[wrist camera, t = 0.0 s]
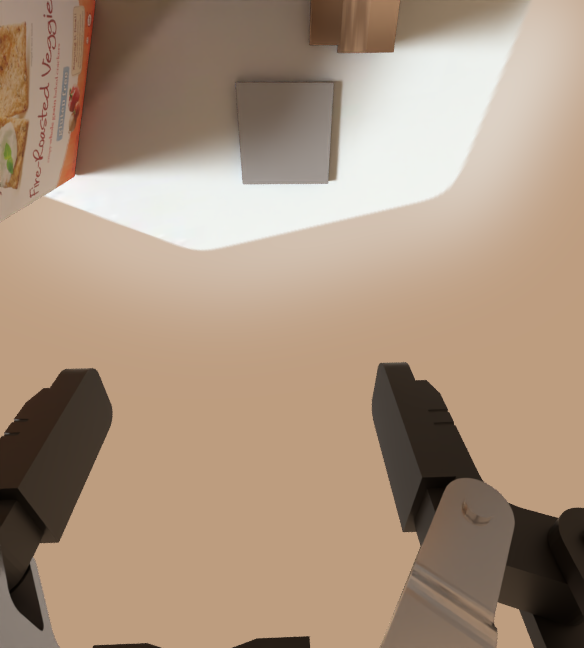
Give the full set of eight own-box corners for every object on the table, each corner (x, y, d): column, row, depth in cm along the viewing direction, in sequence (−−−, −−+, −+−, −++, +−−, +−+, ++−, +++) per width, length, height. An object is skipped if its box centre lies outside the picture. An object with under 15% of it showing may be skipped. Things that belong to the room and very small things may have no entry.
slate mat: (236, 82, 31) (235, 82, 31) (332, 82, 31) (333, 82, 31) (243, 181, 36) (242, 184, 35) (327, 181, 36) (328, 183, 35)
